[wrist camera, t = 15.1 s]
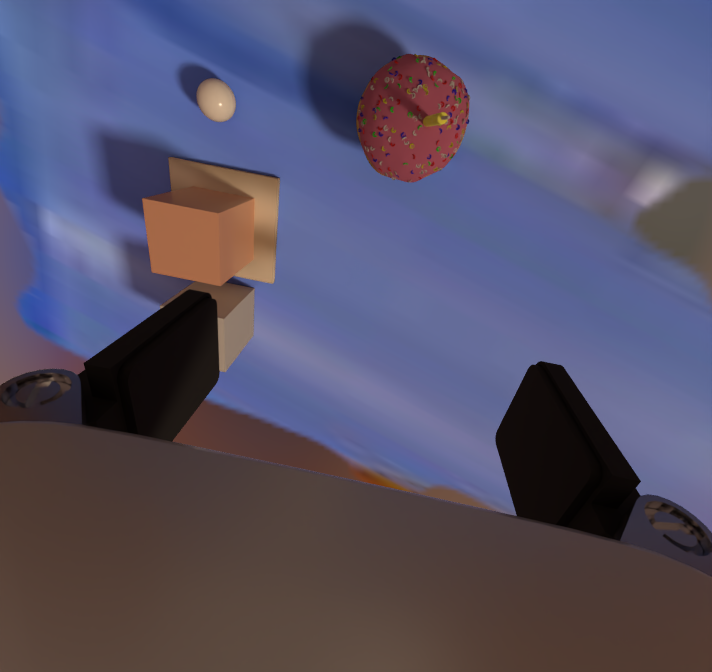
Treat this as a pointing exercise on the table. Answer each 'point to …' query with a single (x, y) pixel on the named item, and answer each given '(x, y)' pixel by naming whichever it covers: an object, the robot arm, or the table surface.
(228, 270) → the peach colored cube
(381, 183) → the table surface
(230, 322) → the beige block
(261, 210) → the birch board
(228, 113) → the cream marble
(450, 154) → the cupcake
